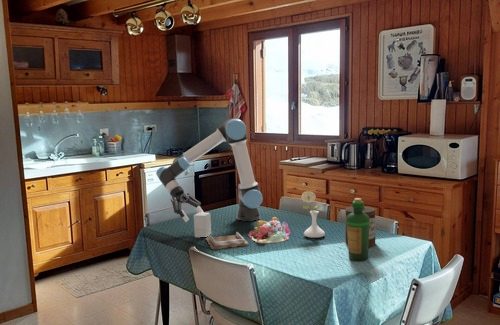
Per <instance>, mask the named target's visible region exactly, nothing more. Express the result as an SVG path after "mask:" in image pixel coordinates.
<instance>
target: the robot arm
mask: <svg viewBox="0 0 500 325" xmlns="http://www.w3.org/2000/svg"><path fill="white" fill-rule="evenodd" d="M247 141H248V135H247V126H246V124H245V122H244V121H243V120H241V119H239V118H229V119H227V120H226V121H225V122H224V123H223V124H221V125H220V126H219V127H217V128H216V131H214V132H213V133H211V134H210V135H209V136H207V137H206V138H204V139H202V140H201V141H200V142H198V143H196V144H195V145H194V146H192V147H191V148H189V149H188V150H187V151H185V152H184V153H182V154H181V155H179V156H178V157H175V158H174V159H173V160H172V164H171V165H170V166H168V167H167V166H166V165H165V166H161V167H159V168H158V169H157V170H156V172H155V175H156V177H157V178H158V180H159V181H160V183H161V184H162V185H163V187H164V188H165V189H166V190H167V192H168V193H169V195H170V196H171V198H170V202H171V205H172V208H173V212H174V214H176V215H179V216H180V218H182V219H183V220H184V222H185V223H187V222H188V221H190V218H189V217H188V215H187V214H186V212H185V211H184V210H183V209H182V204H188V205H190V206H192V207H194V208H195V210H196V211H197V213H199V212H200V213H205V212H204V210H203V209H202V207H201V205H202V203H201V201H199V200H197V199H196V198H195V197H194V196H192V195H191V194H190V193H189V192H187V193H186V194H185V190H184V189H183V187H182V186H181V185H180V183H179V182H178V180H177V179H176V178H177V177H179V176H180V175H181V174H182V173H184V172H185V171H187V170H188V169H189V168H190V167H191V164H192V163H193V162H195V161H196V160H198V159H199V158H201V157H202V156H204V155H205V154H207V153H208V152H210V151H211V150H212V149H214V148H215V147H217V146H219V145H220V144H221V143H223V142H227V143H228V145H230V146H231V149H232V153H233V157H234V161H235V166H236V169H237V173H238V177H239V181H240V183H239V184H238V187H237V189H238V192H237V193H238V209H237V213H236V220H237V219H238V220H237V221H239V220H242V221H241V222H246V221H248V222H255V221H254V220H256V221H259V220H261V214H260V210H259V208H258V207H260V206H261V204H262V203H263V197H264V196H263V194H262V192H261V190H260V185H259V183H258V182H257V181H256V180H255V175H254V171H253V167H252V164H251V158H250V154H249V151H248V145H247ZM258 219H259V220H258Z"/></svg>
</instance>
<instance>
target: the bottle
mask: <svg viewBox="0 0 500 325" xmlns="http://www.w3.org/2000/svg"><path fill="white" fill-rule="evenodd" d="M363 203H364V200H362V198H360V197H355V198H354V200H353V201H352V204H351V206H352V207H353V211H354V212H352V213H350V214H349V215H348V216H347V218H346V217H345V220H346V219H347V235H348V245H347V246H348V247H347V248H348V258H349V259H350V260H352V261H355V262H362V261H366V260H367V259H368V257H369V247H368V244H369V226H370V218H369V217H368V215H367V214H365V213H364V212H362V211H363V207H364V206H365V204H363Z"/></svg>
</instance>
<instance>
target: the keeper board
mask: <svg viewBox="0 0 500 325" xmlns="http://www.w3.org/2000/svg"><path fill="white" fill-rule="evenodd" d="M206 240H207V241H206ZM205 241H206V242H208V243H207V244H208V245H210V246H209V248H211V250H213V251H215V250H221V249H222V248H223V249H229V248H228V247H232V248H238V247H237V246H241V247H249V246H250V245H249V242H248V241H247V239H245V238H244V237H243V236H242V235H241V234H240V233H239V231H236V232H235V234H232V235H221V236H220V235H219V236H212V234H211V235H209V236H208V237H207V238H205ZM248 245H249V246H248Z"/></svg>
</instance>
